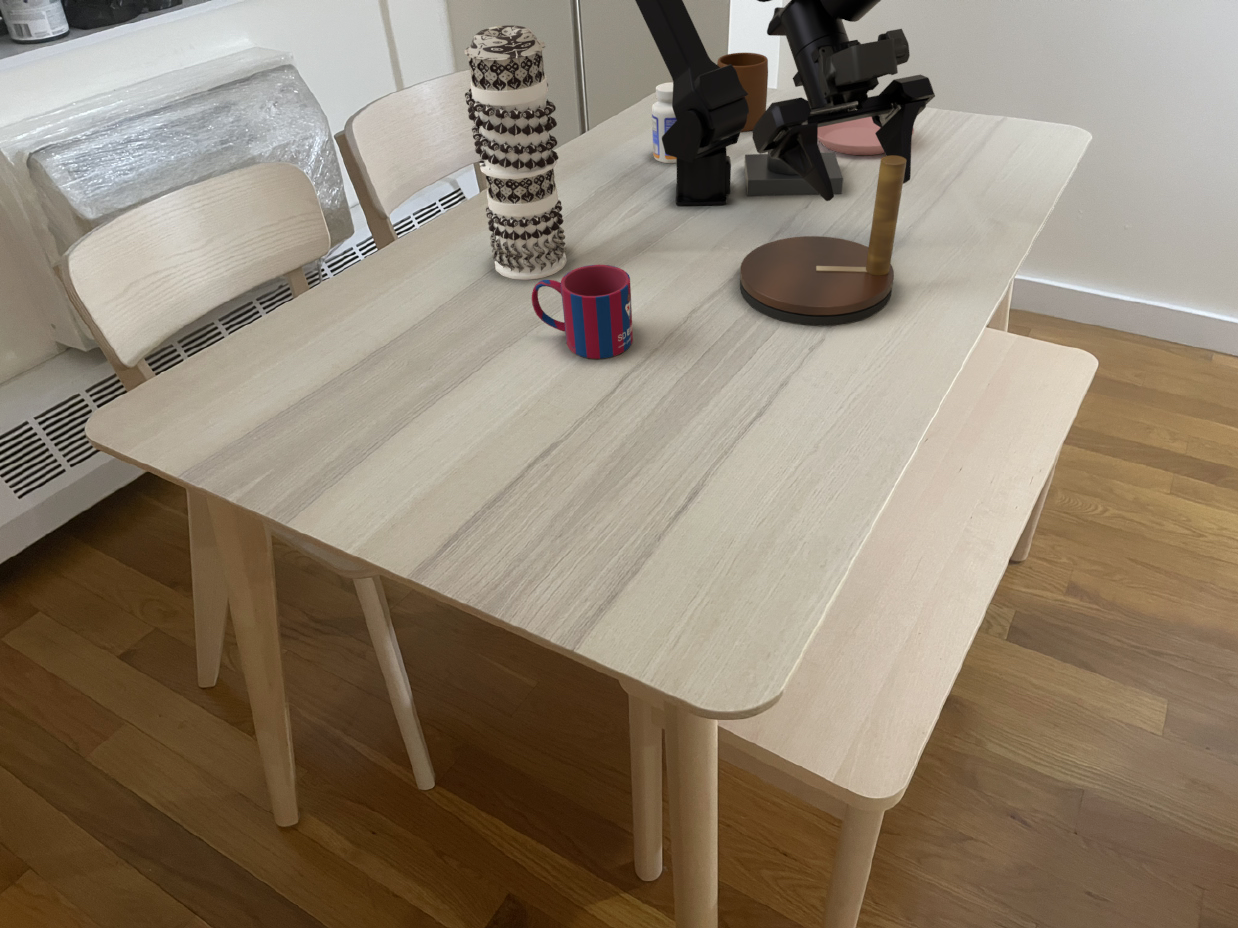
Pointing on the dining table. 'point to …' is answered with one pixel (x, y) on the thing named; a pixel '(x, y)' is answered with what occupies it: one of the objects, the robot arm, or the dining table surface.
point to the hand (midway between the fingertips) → (868, 190)
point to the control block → (785, 176)
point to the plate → (852, 137)
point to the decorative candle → (516, 151)
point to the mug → (750, 82)
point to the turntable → (831, 261)
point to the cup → (592, 310)
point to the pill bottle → (662, 120)
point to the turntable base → (813, 319)
